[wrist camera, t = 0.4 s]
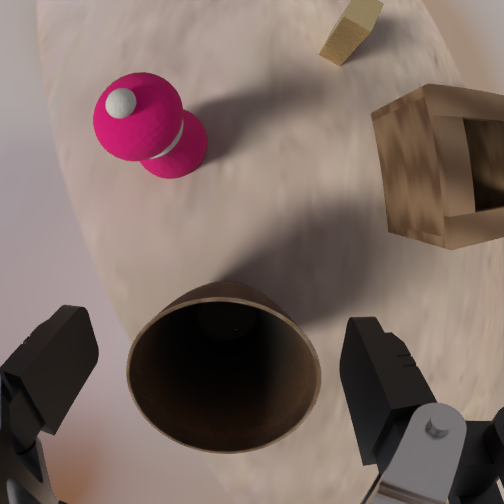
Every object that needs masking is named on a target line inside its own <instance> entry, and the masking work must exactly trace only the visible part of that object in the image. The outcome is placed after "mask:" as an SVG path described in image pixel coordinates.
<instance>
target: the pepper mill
mask: <svg viewBox="0 0 504 504" xmlns="http://www.w3.org/2000/svg"><path fill="white" fill-rule="evenodd" d="M93 125H94V130H95V133H96V136H97V138H98V141H99V142H100V143H101V145H102V146H103V147H104V149H106V150H107V151H108V152H109V153H110V154H112V155H114V156H115V157H117V158H120V159H123V160H126V161H140V163H141V164H142V165H143V166H144V168H145V169H147V170H148V171H149V172H150V173H152V174H154V175H156V176H158V177H161V178H167V179H173V178H179V177H182V176H185V175H187V174H189V173H191V172H192V171H194V170H195V169H196V168H197V167H198V166H199V165H200V164H201V162H202V161H203V159H204V156H205V152H206V149H207V135H206V131H205V129H204V126H203V125H202V123H201V122H200V121H199V120H198V119H197V118H196V117H195V116H194V115H193V114H192V113H190V112H188V111H186V110H184V109H183V106H182V102H181V99H180V96H179V94H178V92H177V91H176V89H175V88H174V87H173V86H172V85H171V84H170V83H169V82H168V81H166V80H165V79H163V78H161V77H159V76H157V75H155V74H151V73H145V72H144V73H132V74H128V75H126V76H123V77H121V78H119V79H118V80H116V81H114V82H113V83H112V84H111V85H110V86H109V87H107V89H106V90H105V91H104V92H103V93H102V95H101V96H100V98H99V100H98V102H97V104H96V107H95V110H94V116H93Z"/></svg>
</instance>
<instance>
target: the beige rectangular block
mask: <svg viewBox="0 0 504 504" xmlns="http://www.w3.org/2000/svg"><path fill="white" fill-rule="evenodd" d="M383 5H384V4H383V3H381V2H380V1H378V0H351V2H350V3H349V5H348V6H347V8H346V9H345V11H344V12H343V14H342V15H341V17H340V18H339V20H338V21H337V23H336V25H335V26H334V28H333V29H332V31H331V33H330V35H329V37H328V39H327V40H326V42H325V44H324V46H323V48H322V50H321V52H320V53H319V55H320V56H322V57H324V58H326V59H328V60H330V61H332V62H333V63H335V64H337V65H339V66H341V65H342V64H343V62H344V61H345V60H346V59H347V58H348V57H349V56H350V55H351V53H352V52H353V51H354V50H355V49H356V48H357V47H358V46H359V45H360V43H361V42H362V41H363V40H364V39H365V38H366V37H367V36H368V35H369V34H370V33H371V31H372V29H373V27H374V24H375V22H376V20H377V18H378V16H379V14H380V11H381V9H382V7H383Z"/></svg>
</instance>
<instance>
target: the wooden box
mask: <svg viewBox="0 0 504 504" xmlns="http://www.w3.org/2000/svg"><path fill="white" fill-rule="evenodd" d="M371 116H372V121H373V126H374V131H375V136H376V141H377V147H378V153H379V159H380V165H381V172H382V179H383V186H384V194H385V202H386V211H387V221H388V232H390V233H394V234H398V235H401V236H405V237H408V238H412V239H415V240H419V241H422V242H426V243H429V244H433V245H436V246H439V247H443V248H446V249H449V250H454V249H458V248H462V247H466V246H470V245H474V244H478V243H482V242H486V241H490V240H494V239H498V238H502V237H504V96H503V95H498V94H494V93H489V92H483V91H478V90H472V89H466V88H459V87H452V86H444V85H436V84H426V85H424V86H422V87H420V88H418V89H416V90H414V91H412V92H411V93H409V94H407V95H405V96H403V97H401V98H399V99H397V100H395V101H393V102H391V103H390V104H388V105H386V106H384V107H382V108H380V109H378V110H377V111H375V112H373V113H371Z"/></svg>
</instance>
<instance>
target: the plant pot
mask: <svg viewBox="0 0 504 504" xmlns="http://www.w3.org/2000/svg"><path fill="white" fill-rule="evenodd" d="M204 309H206V312H207V313H204ZM234 329H237V330H238V331H237V332H233V330H234ZM126 375H127V383H128V388H129V391H130V394H131V397H132V399H133V401H134V403H135V405H136V407H137V408H138V410H139V411H140V413H141V414H142V415H143V417H144V418H145V419H146V420H147V421H148V422H149V423H150V424H151V425H152V426H153V427H154V428H155V429H157V430H158V431H159V432H160V433H162V434H163V435H165V436H166V437H168V438H170V439H171V440H173V441H175V442H177V443H179V444H181V445H184V446H186V447H189V448H193V449H196V450H199V451H204V452H210V453H220V454H236V453H244V452H250V451H254V450H258V449H261V448H265V447H267V446H270V445H272V444H274V443H276V442H278V441H280V440H282V439H283V438H285V437H287V436H288V435H290V434H291V433H292V432H293V431H295V430H296V429H297V428H298V427H299V426H300V425H301V424H302V423H303V422H304V421H305V419H306V418H307V417H308V416H309V414H310V413H311V411H312V409H313V407H314V405H315V404H316V401H317V398H318V395H319V391H320V386H321V368H320V363H319V359H318V356H317V353H316V351H315V349H314V347H313V345H312V343H311V342H310V340H309V339H308V337H307V336H306V335H305V334H304V332H303V331H302V330H301V329H300V328H299V327H298V326H297V325H296V323H295V322H294V321H293V320H292V319H291V318H290V317H289V316H288V315H287V314H286V313H285V312H284V311H283V310H282V309H281V308H280V307H279V306H278V305H277V304H275V303H274V302H273V301H272V300H270V299H269V298H268V297H266V296H265V295H263V294H262V293H260V292H258V291H256V290H255V289H253V288H250V287H248V286H245V285H243V284H239V283H234V282H215V283H210V284H206V285H203V286H201V287H198V288H196V289H194V290H192V291H190V292H188V293H186V294H184V295H182V296H181V297H179V298H178V299H176V300H175V301H173V302H172V303H171V304H169V305H168V306H167V307H166V308H165V309H163V310H162V311H161V312H160V313H159V314H158V315H156V316H155V317H154V318H153V319H152V320H151V321H150V322H148V323H147V324H146V325H145V326H144V328H143V329H142V330H141V331H140V332H139V334H138V335H137V337H136V338H135V340H134V342H133V344H132V346H131V348H130V351H129V354H128V359H127V366H126Z"/></svg>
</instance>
